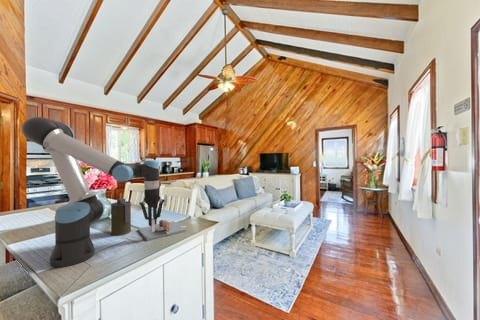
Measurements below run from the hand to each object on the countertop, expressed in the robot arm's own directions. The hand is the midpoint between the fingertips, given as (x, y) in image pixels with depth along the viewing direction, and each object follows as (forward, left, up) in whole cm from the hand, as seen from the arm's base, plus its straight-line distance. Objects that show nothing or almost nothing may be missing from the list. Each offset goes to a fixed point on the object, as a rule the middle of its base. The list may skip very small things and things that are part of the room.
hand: (152, 231), depth 108 cm
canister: (-12, +21, -4) cm, 25 cm away
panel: (+8, +8, -4) cm, 12 cm away
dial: (+8, +6, -3) cm, 10 cm away
